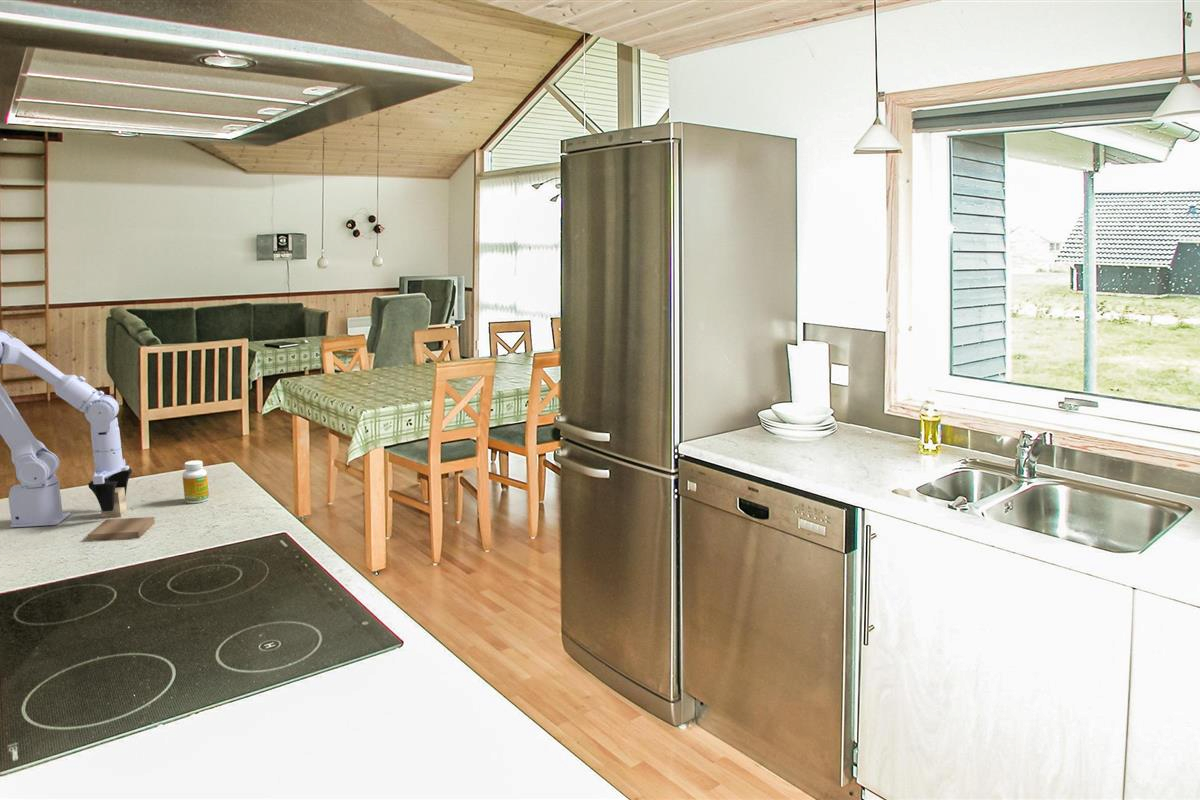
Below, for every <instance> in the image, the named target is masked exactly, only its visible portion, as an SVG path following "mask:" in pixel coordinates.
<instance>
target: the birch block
mask: <svg viewBox="0 0 1200 800" xmlns="http://www.w3.org/2000/svg"><path fill="white" fill-rule="evenodd" d="M126 500H127V499H126V497H125V489H124V487H121V488H115V493H114V508H113V510H112V511H102V509H101V508H100V510H101V518H102V519H108V518H107V517H113V518H122V517H123V516H124V515H125V514H126V513H127V512H128V509H127V501H126ZM126 511H127V512H126ZM125 512H126V513H125ZM124 513H125V514H124ZM123 514H124V515H123ZM122 515H123V516H122ZM121 516H122V517H121Z"/></svg>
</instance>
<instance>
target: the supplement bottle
mask: <svg viewBox="0 0 1200 800" xmlns="http://www.w3.org/2000/svg"><path fill="white" fill-rule="evenodd" d="M184 469H185V471H183V472H182V484H183V494H184V502H185V503H186V502H187V503H186V504H200V503H201V502H202V503H205V502H207V501H208V500H209V499H210V492H209V485H208V484H209V481H208V473H207V471H206V469H204V463H203V461H202V460H200V459H199V460H197V459H196V460H189V461H186V462H185V463H184Z"/></svg>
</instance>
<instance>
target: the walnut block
mask: <svg viewBox="0 0 1200 800" xmlns="http://www.w3.org/2000/svg"><path fill="white" fill-rule="evenodd" d="M155 522H156V521H155V516H148V517H147V516H145V517H129V518H128V517H127V518H126V517H125V518H113V519H111V518H106V519H105V520H104V521H102V522H101V523H100V524H99V525H98V526H96V527H95V528H94V529H93V530H92V531H91V532H89V533H88V534H87V539H88V542H92V541H91V540H101V541H112V540H111V539H119V540H128V539H127V538H138V539H140V538H142V536H143V535H144V534H145V533H147V531H149V529H151V528H152V527H153V526H154V524H156V523H155Z"/></svg>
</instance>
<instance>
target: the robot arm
mask: <svg viewBox="0 0 1200 800" xmlns="http://www.w3.org/2000/svg"><path fill="white" fill-rule="evenodd" d="M3 364H4V365H6V364H7V365H18V366H22V368H24V369H26V370H27V371H29V372H31V373H33V374H34V375H36V376H37V377H39V378H40V379H42V380H43V381H45V382H46V383H48V384H50V385H52V386H53V387H54V393H55V395H56V396H58V397H59V398H60V399H62V400H64V401H65V402H66V403H68V404H70V405H71V406H72V407H73V408H75V409H77V410H78V411H80V412H81V413H82V412H83V413H84V416H85V418H86V420H87V422H89V424H90V436H91V437H90V438H91V446H92V447H91V448H92V453H93V455H92V456H93V462H94V469H93V473H94V475H93V476H92V480H91V481H90V482H88V484H87V485H88V488H89V489H90V490H91V492H92V493H93V494H94V496H95V497H96V499H97V502H98V504H99V507H100V510H101V509H102V511H112V510H113V508H114V493H115V488H121V487H124V489H125V498H126V496H127V490H128V489H127V488H128V483H129V479H130V477H131V474H132V472H133V470H132V469H131V468H130V465H126V459H124V458H123V451H122V450H123V449H122V441H121V433H120V432H121V431H120V427H119V422H118V421H119V420H118V417H117V415H118V414H119V411H120V406H119V403H118V401H117V399H115V398H114V397H113V395H108V394H105V392H104V391H102V390H97V389H96V388H95V387H93V386H92V385H91V384H89V383H87V382H86V380H87V379H86V378H85V377H84V376H83V375H79V376H77V375H75V374H65V373H63V372H62V371H60V370H59V369H58V368H57V367H56V366H54V365H53V364H52V363H50V362H49V361H48V360H46V359H45V358H44V357H42V356H41V355H40V354H38V353H37V352H36V351H34V350H33V349H32V348H30V347H29V346H28V345H26V344H25V343H24V342H23V341H22V340H20V339H18V338H17V337H15V336H14V337H13V336H12V334H10V333H9V332H7V331H5V330H2V329H0V368H1V367H2V365H3ZM23 418H24V417H22V416H21V414H20V411H19V410H18V408H17V407H16V405H15V404H14V402H13V401H12V399H11V398H10V397H9V395H8V393H7V391H6V390H5V387H3V385H2V383H0V436H1V437H2V439H3V441H4V442H5V443H6V444H7V446H8V448H9V450H10V453H11V454H10V455H11V457H10V458H11V463H12V464H13V465H14V468H15V476H16V479H17V480H18V481H19V482H20V483H19V484H14V485H12V486H11V488H9V491H8V505H9V506H8V507H9V511H10V512H9V514H10V521H11V524H10V528H23V527H26V528H27V527H40V526H41V527H42V526H55V525H56V526H57V525H58V524H59V523H61V522H62V521H64V520H65V519H66V518H68V517H69V516H70V515H71V512H69V511H68V512H67V511H66V512H63V511H64V510H63V503H62V496H61V486H60V481H59V478H58V477H57V475H56V472H57V471H58V469H60V467H59V466H60V460H59V457H58V456H57V455H56V454H55V453H54V452H52V451H50V450H49V449H48V448H47V447H46V445H45V444H44V443H43V442H42V441H40V440H38V439H37V438H36V437H35V435H34V434H33V432H32V431H31V429H30V427H29V425H28V424H27V423H26V421H25V420H24V419H23Z"/></svg>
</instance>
